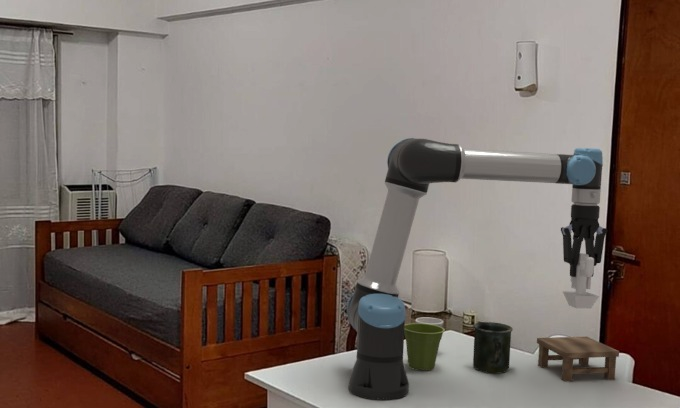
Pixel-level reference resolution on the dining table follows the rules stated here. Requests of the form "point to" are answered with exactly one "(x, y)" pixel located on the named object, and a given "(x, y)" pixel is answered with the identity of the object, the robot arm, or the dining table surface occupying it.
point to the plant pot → (422, 344)
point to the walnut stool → (577, 355)
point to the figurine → (582, 285)
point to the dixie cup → (430, 321)
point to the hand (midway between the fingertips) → (580, 288)
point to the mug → (492, 347)
